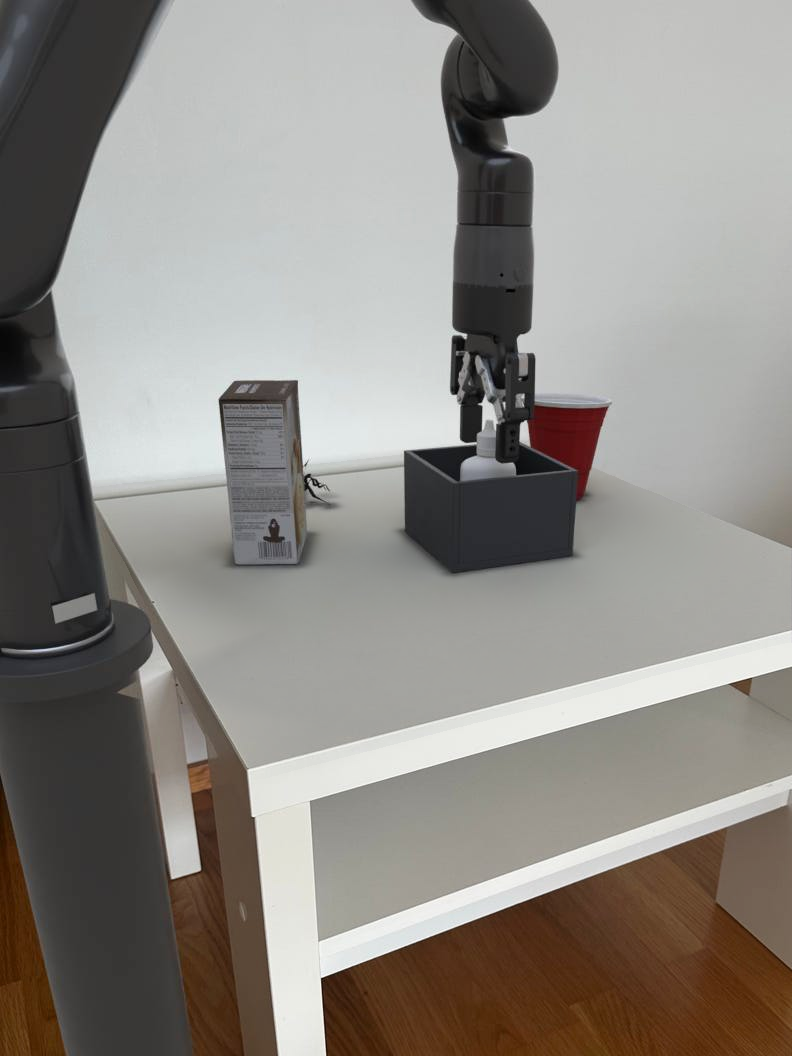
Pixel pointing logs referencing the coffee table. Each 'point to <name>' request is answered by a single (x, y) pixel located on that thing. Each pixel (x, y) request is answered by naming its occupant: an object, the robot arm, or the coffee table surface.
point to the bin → (489, 509)
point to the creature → (306, 485)
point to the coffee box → (264, 470)
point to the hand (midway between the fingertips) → (488, 451)
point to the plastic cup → (568, 430)
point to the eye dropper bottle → (485, 458)
